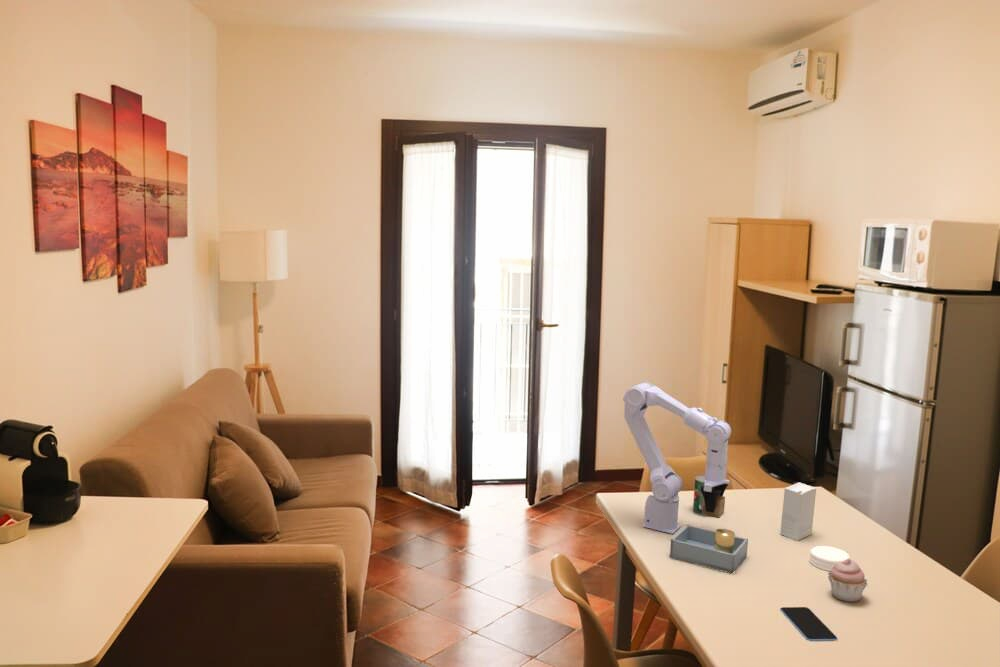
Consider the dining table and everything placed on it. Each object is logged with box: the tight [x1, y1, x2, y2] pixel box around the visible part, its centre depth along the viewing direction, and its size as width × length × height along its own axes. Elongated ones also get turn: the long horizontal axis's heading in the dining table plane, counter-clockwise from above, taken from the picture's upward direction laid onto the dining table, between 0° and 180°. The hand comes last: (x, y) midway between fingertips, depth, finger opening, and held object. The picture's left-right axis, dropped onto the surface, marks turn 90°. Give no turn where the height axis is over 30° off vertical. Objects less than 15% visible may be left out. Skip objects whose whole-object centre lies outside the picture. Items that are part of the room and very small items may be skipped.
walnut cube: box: [702, 495, 726, 519], centre depth 231 cm, size 5×5×5 cm
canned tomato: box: [692, 474, 706, 517], centre depth 252 cm, size 8×8×11 cm
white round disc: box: [809, 545, 851, 572], centre depth 217 cm, size 10×10×4 cm
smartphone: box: [779, 606, 838, 642], centre depth 184 cm, size 7×1×15 cm
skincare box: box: [780, 481, 817, 542], centre depth 235 cm, size 8×6×15 cm
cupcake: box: [827, 558, 869, 603], centre depth 197 cm, size 9×9×10 cm
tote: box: [669, 524, 749, 574], centre depth 219 cm, size 17×13×5 cm
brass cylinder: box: [714, 528, 735, 554], centre depth 216 cm, size 5×5×7 cm
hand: (712, 508), depth 231 cm, fingers closed on walnut cube, 5 cm apart
